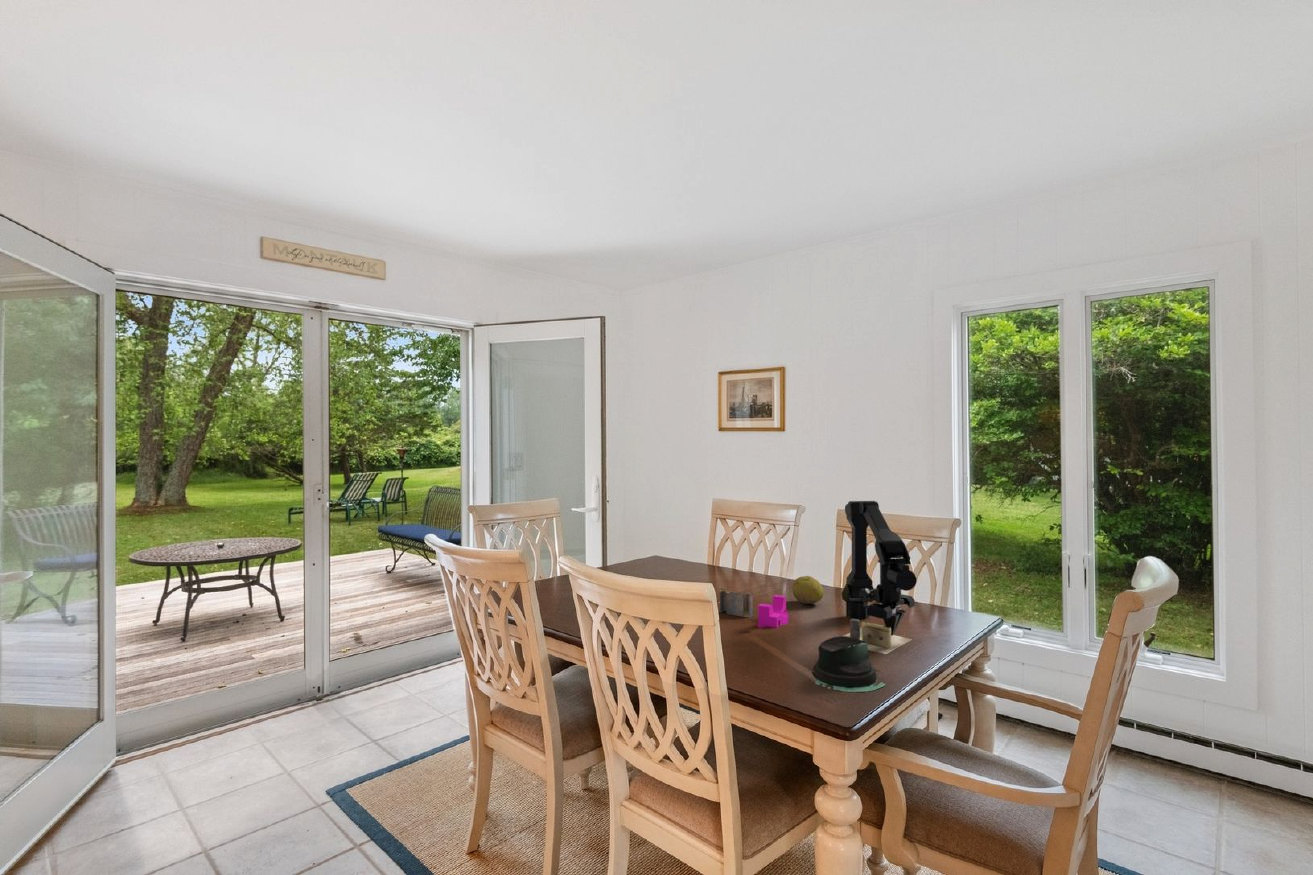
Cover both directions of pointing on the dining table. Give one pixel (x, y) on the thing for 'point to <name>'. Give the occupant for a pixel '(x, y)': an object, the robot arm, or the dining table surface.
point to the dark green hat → (845, 665)
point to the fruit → (807, 590)
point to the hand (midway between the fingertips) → (891, 635)
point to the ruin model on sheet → (736, 603)
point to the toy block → (773, 613)
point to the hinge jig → (875, 637)
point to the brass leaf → (877, 628)
